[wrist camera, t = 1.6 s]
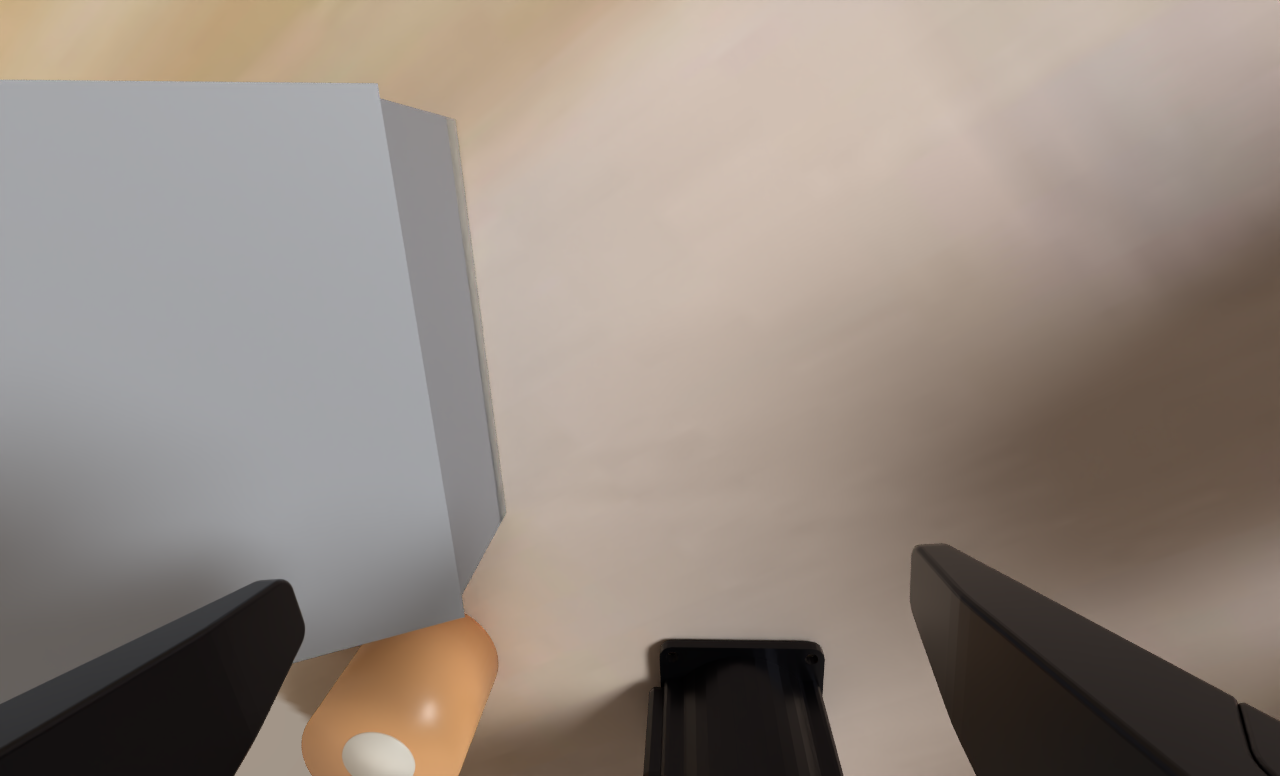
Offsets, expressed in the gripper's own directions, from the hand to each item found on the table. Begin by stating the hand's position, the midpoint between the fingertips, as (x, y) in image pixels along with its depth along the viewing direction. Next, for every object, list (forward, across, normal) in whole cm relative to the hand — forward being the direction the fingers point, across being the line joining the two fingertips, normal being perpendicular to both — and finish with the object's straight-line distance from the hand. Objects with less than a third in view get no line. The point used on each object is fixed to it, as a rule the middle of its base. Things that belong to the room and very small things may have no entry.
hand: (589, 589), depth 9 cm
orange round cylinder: (+13, +10, +13) cm, 21 cm away
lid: (+5, +11, -1) cm, 13 cm away
